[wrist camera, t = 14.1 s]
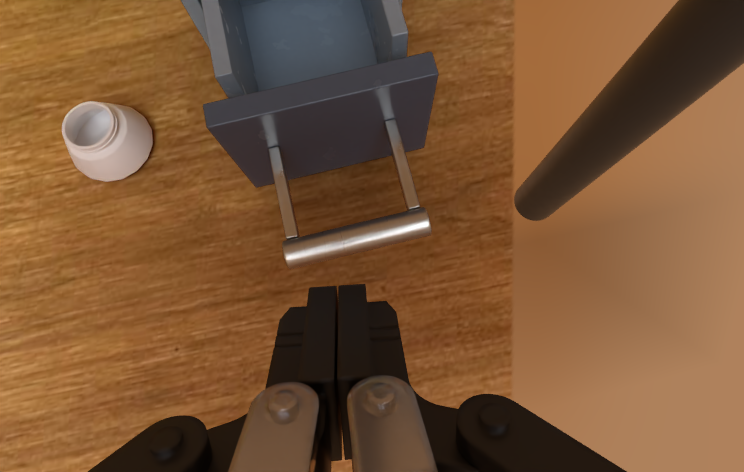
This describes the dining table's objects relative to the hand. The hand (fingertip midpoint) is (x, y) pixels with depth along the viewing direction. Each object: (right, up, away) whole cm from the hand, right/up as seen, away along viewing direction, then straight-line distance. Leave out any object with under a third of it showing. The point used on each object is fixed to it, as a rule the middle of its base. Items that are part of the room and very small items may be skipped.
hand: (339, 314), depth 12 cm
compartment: (-2, +9, +16) cm, 18 cm away
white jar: (-15, +8, +17) cm, 24 cm away
